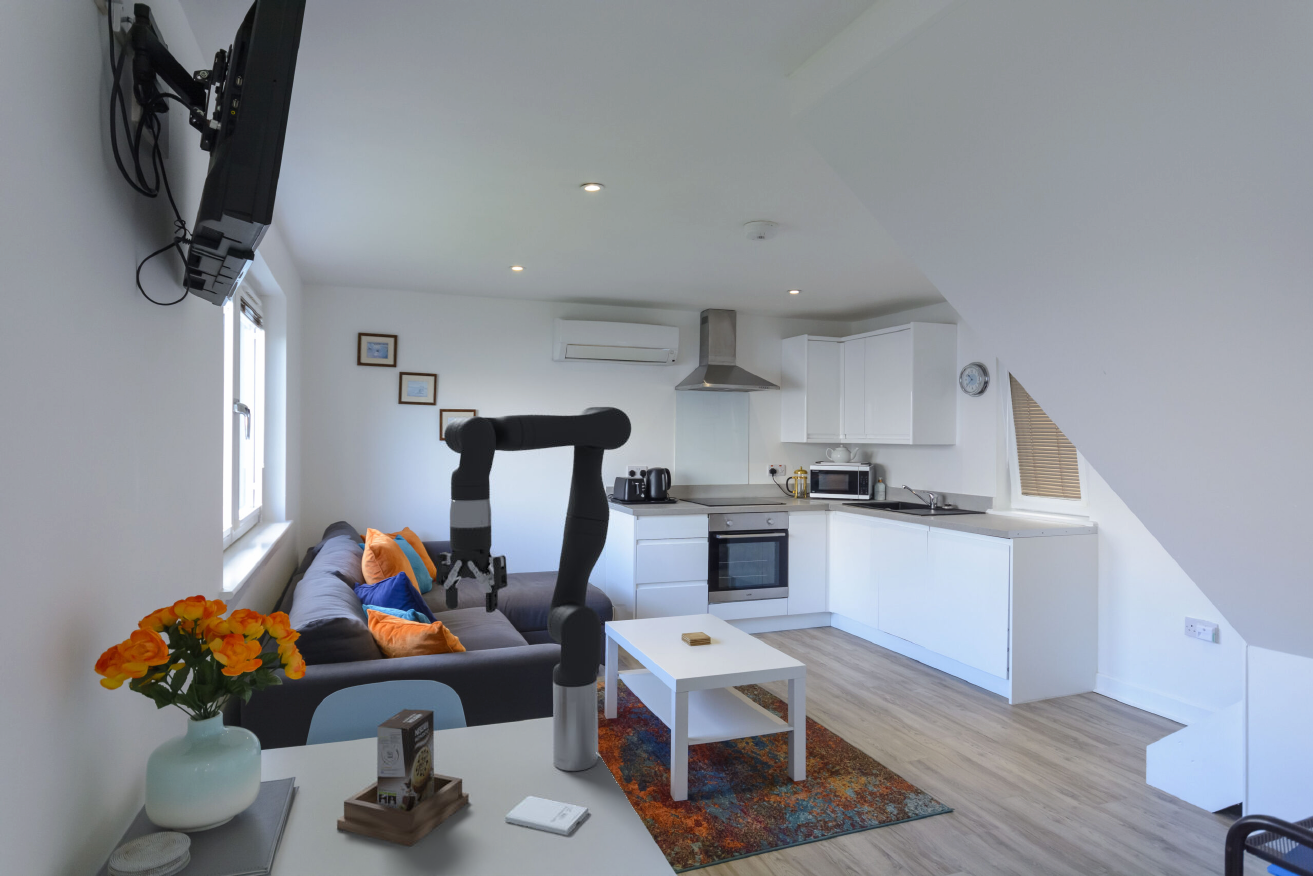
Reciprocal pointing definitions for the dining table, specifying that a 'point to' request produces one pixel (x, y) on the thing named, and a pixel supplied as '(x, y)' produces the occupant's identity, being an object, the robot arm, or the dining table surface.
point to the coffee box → (405, 759)
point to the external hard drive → (547, 815)
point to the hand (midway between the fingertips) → (471, 610)
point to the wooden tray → (402, 812)
